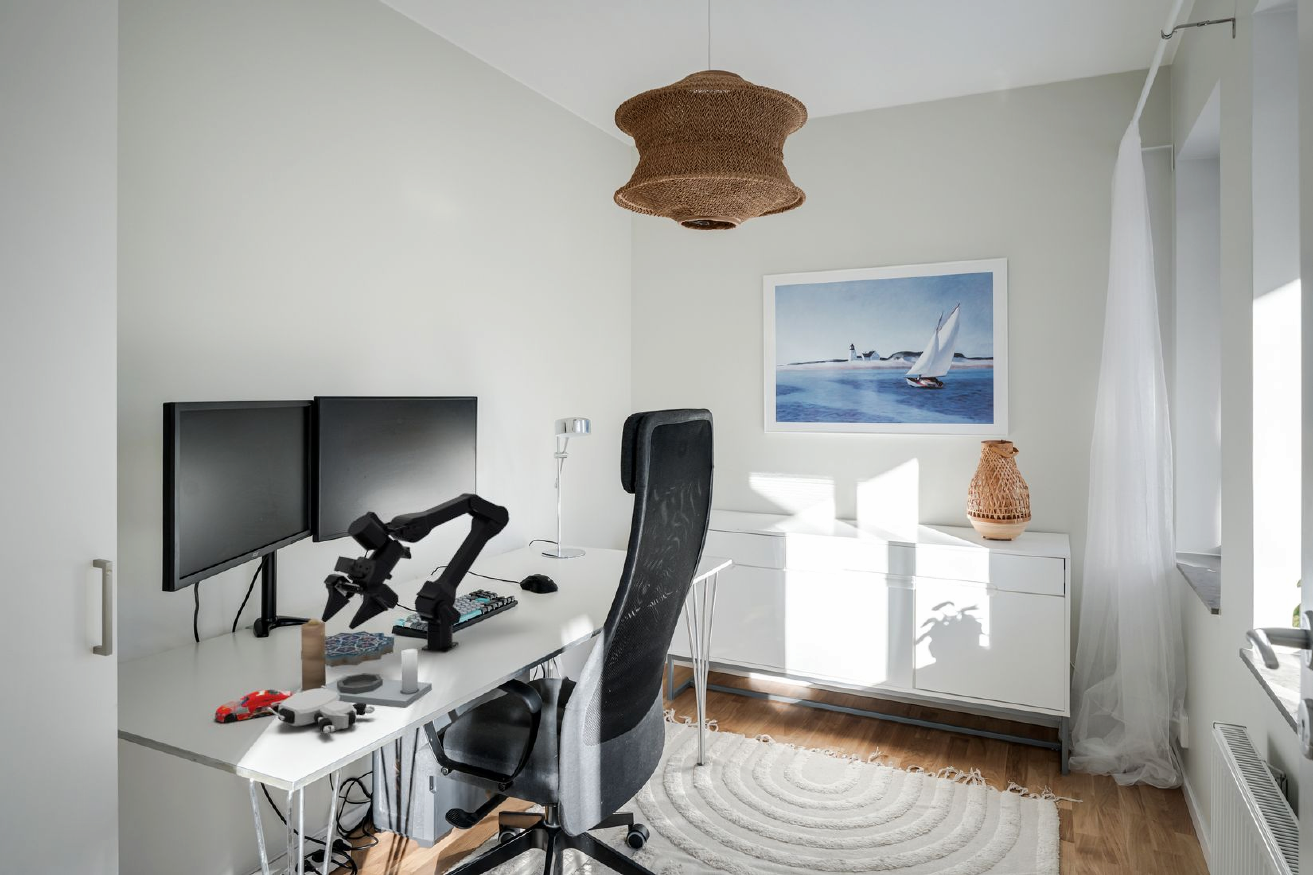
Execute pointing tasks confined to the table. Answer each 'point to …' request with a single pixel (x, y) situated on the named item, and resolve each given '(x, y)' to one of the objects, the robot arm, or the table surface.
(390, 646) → the decorative tile
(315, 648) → the brown tall cylinder
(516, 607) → the table surface
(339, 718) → the robot toy
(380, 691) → the plate
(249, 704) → the race car
